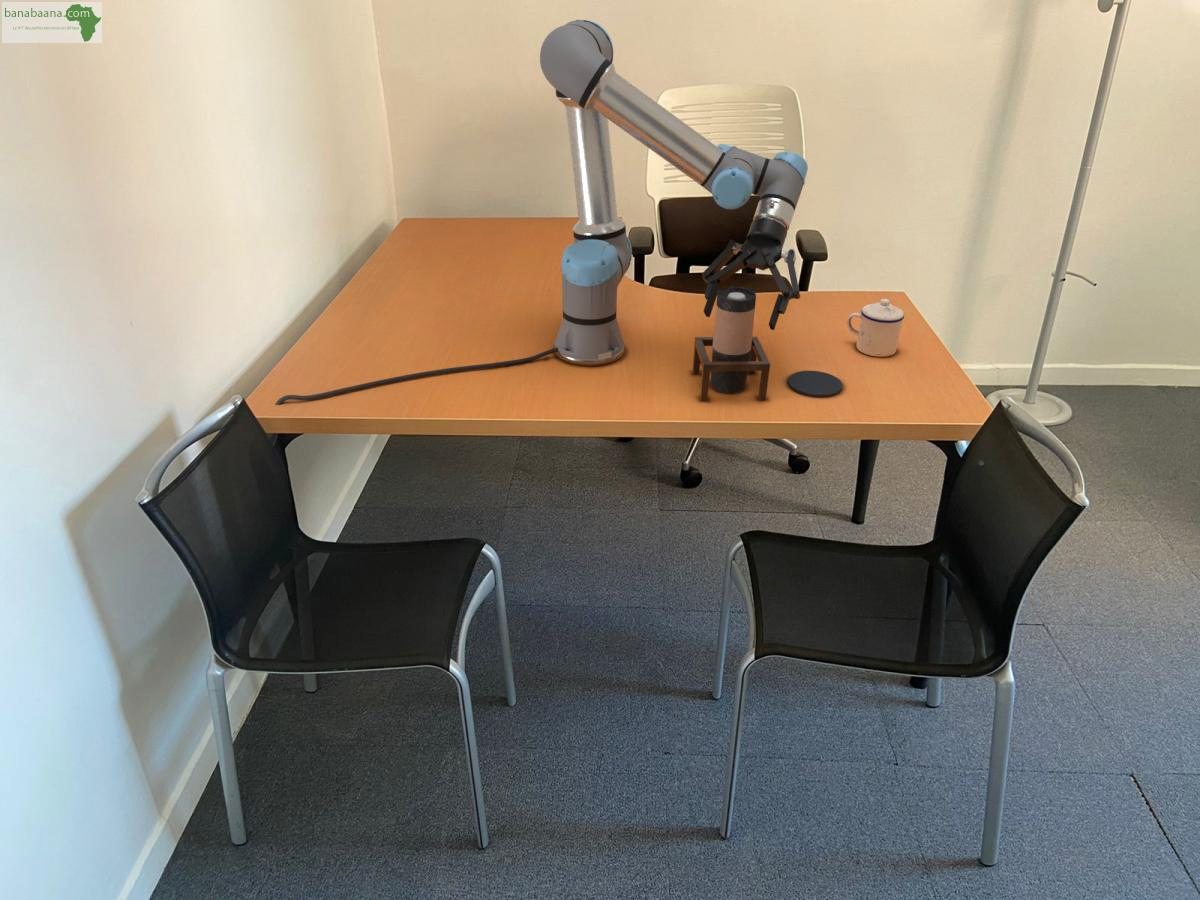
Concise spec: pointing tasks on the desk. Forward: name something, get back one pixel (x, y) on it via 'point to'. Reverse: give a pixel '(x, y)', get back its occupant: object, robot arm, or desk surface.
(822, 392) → the coaster
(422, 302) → the desk surface
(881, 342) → the teacup with lid
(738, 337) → the travel mug
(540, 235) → the desk surface
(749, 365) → the rack
